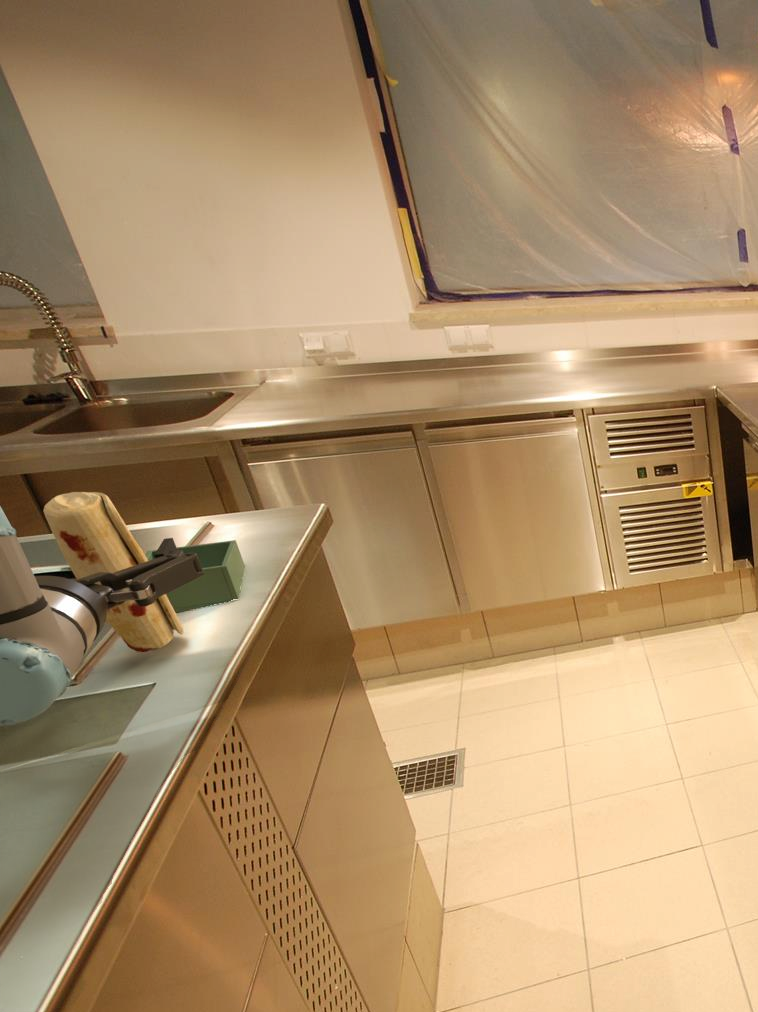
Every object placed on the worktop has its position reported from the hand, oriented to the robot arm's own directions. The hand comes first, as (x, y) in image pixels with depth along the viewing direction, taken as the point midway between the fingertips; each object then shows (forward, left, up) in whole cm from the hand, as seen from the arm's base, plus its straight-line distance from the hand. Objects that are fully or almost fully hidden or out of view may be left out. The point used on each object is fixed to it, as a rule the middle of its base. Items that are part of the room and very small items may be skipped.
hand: (94, 559), depth 94 cm
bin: (+2, +27, -14) cm, 31 cm away
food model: (0, +9, -14) cm, 17 cm away
